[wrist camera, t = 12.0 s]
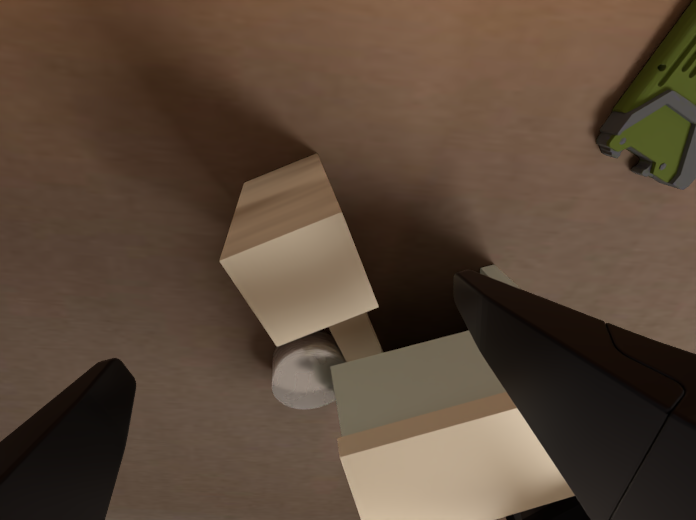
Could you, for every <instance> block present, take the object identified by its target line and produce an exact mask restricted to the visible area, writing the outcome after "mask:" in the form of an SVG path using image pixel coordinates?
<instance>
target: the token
mask: <svg viewBox="0 0 696 520" xmlns="http://www.w3.org/2000/svg"><path fill="white" fill-rule="evenodd" d="M342 363H346V361H345V358H344V356H343V354H342V352H341V350H340V348H339V347H338V345H337V343H336V341H335V339H334V337H333V335H331V334H329V333H327V332H323V331H316V332H314V333H311V334H309V335H306V336H304V337H301V338H299V339H296V340H293V341H291V342H288V343H286V344H283V345H281V346H278V347H276V349H275V351H274V353H273V364H272V391H273V394H274V396H275V397H276V399H277V400H278V401H280V402H281V403H282V404H284V405H286V406H289V407H292V408H296V409H313V408H318V407H322V406H325V405H327V404H329V403H331V402H333V401H335V400H336V398H335V392H334V386H333V380H332V374H331V368H330V366H334V365H338V364H342Z"/></svg>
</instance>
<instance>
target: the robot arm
mask: <svg viewBox="0 0 696 520" xmlns="http://www.w3.org/2000/svg"><path fill="white" fill-rule="evenodd" d="M454 301H455V304H456V306H457V308H458V310H459V312H460V314H461V316H462V318H463V320H464V322H465V324H466V326H467V328H468V330H469V332H470V334H471V336H472V338H473V340H474V342H475V344H476V345H477V347H478V349H479V351H480V352H481V354H482V356H483V357H484V359H485V360H486V362H487V363H488V365H489V366H490V368H491V369H492V371H493V372H494V374H495V375H496V377H497V378H498V380H499V382H500V383H501V385H502V386H503V388H504V389H505V391H506V392H507V394H508V395H509V397H510V398H511V400H512V401H513V403H514V404H515V406H516V407H517V409H518V410H519V412H520V413H521V415H522V416H523V418H524V419H525V421H526V422H527V424H528V425H529V427H530V428H531V430H532V431H533V433H534V434H535V436H536V437H537V439H538V440H539V442H540V443H541V445H542V446H543V448H544V449H545V451H546V452H547V454H548V455H549V457H550V458H551V460H552V461H553V463H554V465H555V466H556V468H557V469H558V471H559V472H560V474H561V475H562V477H563V478H564V480H565V481H566V483H567V484H568V486H569V487H570V489H571V490H572V492H573V493H574V495H575V496H573V497H569V498H566V499H562V500H559V501H556V502H552V503H549V504H546V505H542V506H539V507H536V508H532V509H529V510H526V511H522V512H519V513H516V514H512V515H509V516H506V519H507V520H696V354H694V353H690V352H687V351H684V350H682V349H679V348H676V347H673V346H670V345H667V344H664V343H661V342H658V341H655V340H652V339H649V338H647V337H644V336H641V335H639V334H636V333H633V332H631V331H628V330H625V329H623V328H620V327H617V326H615V325H612V324H610V323H606V324H605V322H604V321H602V320H599V319H597V318H594V317H591V316H589V315H586V314H584V313H581V312H578V311H576V310H573V309H571V308H568V307H566V306H563V305H560V304H558V303H555V302H553V301H550V300H547V299H545V298H542V297H540V296H537V295H534V294H532V293H529V292H527V291H524V290H522V289H519V288H516V287H514V286H511V285H509V284H506V283H503V282H501V281H498V280H496V279H493V278H491V277H488V276H485V275H483V274H480V273H478V272H475V271H472V270H464V271H460V272H457V273H455V274H454ZM135 391H136V381H135V378H134V377H133V375H132V374H131V373H130V372H129V370H128V369H127V368H126V366H125V365H124V364H123V363H122V361H121V360H119V359H117V358H112V359H108V360H104V361H101V362H98V363H97V364H95V365H94V366H93V367H92V368H90V369H89V370H88V371H87V372H86V373H84V374H83V375H82V376H81V377H79V378H78V379H77V380H76V381H75V382H73V383H72V384H71V385H70V386H68V387H67V388H66V389H65V390H64V391H62V392H61V393H60V394H59V395H57V396H56V397H55V398H54V399H52V400H51V401H50V402H49V403H48V404H46V405H45V406H44V407H43V408H41V409H40V410H39V411H38V412H37V413H35V414H34V415H33V416H32V417H30V418H29V419H28V420H27V421H26V422H24V423H23V424H22V425H21V426H19V427H18V428H17V429H16V430H15V431H13V432H12V433H11V434H10V435H8V436H7V437H6V438H5V439H3V440H2V441H1V442H0V520H105V517H106V514H107V510H108V507H109V503H110V500H111V496H112V493H113V489H114V486H115V482H116V479H117V475H118V472H119V468H120V465H121V461H122V457H123V454H124V450H125V446H126V441H127V436H128V431H129V425H130V419H131V414H132V408H133V402H134V397H135Z"/></svg>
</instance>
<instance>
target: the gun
mask: <svg viewBox="0 0 696 520" xmlns="http://www.w3.org/2000/svg"><path fill="white" fill-rule="evenodd" d="M612 111H613V112H612V113H611V115H610V116H609V117H608V119H607V120H606V122H605V123H604V124H603V126H602V127H601V128H600V132H601V134H600V135H599V136H598V138H597V139H596V140H597V144H598V145H599V146H600V149H601V150H602V152H601V153H603V154H605V155H607V156H610V157H614V158H618V157H619V156H620V153H621V151H622V150H624V149H626V148H627V150H628V149H629V150H630V152H631V151H632V152H633V154H634V153H635V154H636V156H637V155H638V157H639V158H640V160H639V163H638V164H637V165H636V166H634V167H633V168H632V169H631V171H632V172H634V173H636V174H639V175H642V176H645V177H647V176H649V177H651V178H653V179H655V180H656V181H658V182H659V183H662V184H665V185H668V186H672V187H675V188H678V189H682V190H684V189H686V188H687V187H688V186H689V185H690V184H691V183H692V182H693V181H694V180H695V179H696V0H693V1H692V2H691V4H690V5H689V6H688V8H687V9H686V10H685V12H684V13H683V14H682V16H681V17H680V18H679V20H678V21H677V22H676V24H675V25H674V27H673V28H672V29H671V31H670V32H669V33H668V35H667V36H666V37H665V39H664V40H663V41H662V43H661V44H660V46H659V47H658V48H657V50H656V51H655V52H654V54H653V55H652V56H651V58H650V59H649V61H648V62H647V63H646V65H645V66H644V67H643V69H642V70H641V71H640V73H639V74H638V76H637V77H636V78H635V80H634V81H633V82H632V84H631V85H630V86H629V88H628V89H627V90H626V92H625V93H624V95H623V96H622V97H621V99H620V100H619V101H618V103H617V104H616V105H615V107H614V108H613V110H612ZM629 150H628V151H629ZM632 152H631V153H632Z"/></svg>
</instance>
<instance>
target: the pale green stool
mask: <svg viewBox="0 0 696 520" xmlns="http://www.w3.org/2000/svg"><path fill="white" fill-rule="evenodd" d="M480 274H483V275H485V276H488V277H491V278H493V279H496V280H498V281H501V282H503V283H506V284H509V285H511V286H514V287H516V288H519V287H518V286H517V285H516V284H515V283H514V282H513V281H512V280H511V279H510V278H509V277H508V276H506V275H505V274H504V273H503V272H502V271H501V270H500V269H499V268H498V267H497V266H496V265H490V266H486V267H482V268H480ZM519 289H521V288H519ZM330 368H331V374H332V380H333V386H334V392H335V398H336V404H337V410H338V416H339V422H340V428H341V434H342V437H339V438H337V442H338V449H339V455H340V459H341V462H342V465H343V468H344V471H345V474H346V477H347V480H348V483H349V486H350V489H351V492H352V494H353V497H354V500H355V503H356V506H357V509H358V512H359V515H360V518H361V520H496V519H499V518H502V517H506V516H509V515H512V514H516V513H519V512H522V511H526V510H529V509H532V508H536V507H539V506H542V505H546V504H549V503H552V502H556V501H559V500H562V499H566V498H569V497H573V496H575V495H574V493H573V492H572V490H571V489H570V487H569V486H568V484H567V483H566V481H565V480H564V478H563V477H562V475H561V474H560V472H559V471H558V469H557V468H556V466H555V465H554V463H553V461H552V460H551V458H550V457H549V455H548V454H547V452H546V451H545V449H544V448H543V446H542V445H541V443H540V442H539V440H538V439H537V437H536V436H535V434H534V433H533V431H532V430H531V428H530V427H529V425H528V424H527V422H526V421H525V419H524V418H523V416H522V415H521V413H520V412H519V410H518V409H517V407H516V406H515V404H514V403H513V401H512V400H511V398H510V397H509V395H508V394H507V392H506V391H505V389H504V388H503V386H502V385H501V383H500V382H499V380H498V378H497V377H496V375H495V374H494V372H493V371H492V369H491V368H490V366H489V365H488V363H487V362H486V360H485V359H484V357H483V356H482V354H481V352H480V351H479V349H478V347H477V345H476V344H475V342H474V340H473V338H472V336H471V334H470V332H469V331H465V332H461V333H457V334H453V335H449V336H446V337H442V338H438V339H434V340H430V341H426V342H423V343H419V344H415V345H411V346H407V347H403V348H400V349H396V350H392V351H388V352H384V353H380V354H377V355H373V356H369V357H365V358H361V359H357V360H353V361H350V362H346V363H342V364H338V365H334V366H330Z"/></svg>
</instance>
